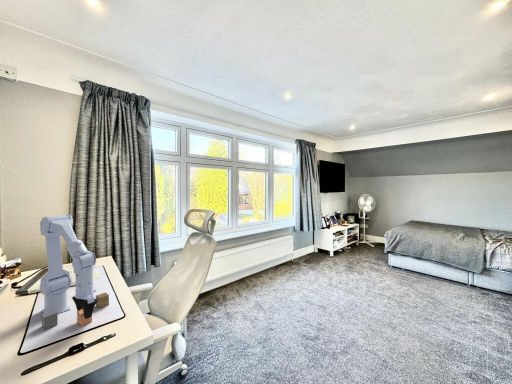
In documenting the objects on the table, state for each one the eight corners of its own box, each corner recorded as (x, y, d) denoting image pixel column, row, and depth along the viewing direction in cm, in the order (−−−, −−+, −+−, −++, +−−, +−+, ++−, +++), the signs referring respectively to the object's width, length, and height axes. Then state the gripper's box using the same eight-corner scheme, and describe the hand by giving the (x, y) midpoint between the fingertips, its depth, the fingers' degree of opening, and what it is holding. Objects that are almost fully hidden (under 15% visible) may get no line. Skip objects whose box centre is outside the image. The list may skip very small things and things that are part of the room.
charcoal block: (41, 326, 90) (41, 314, 89) (54, 321, 93) (54, 309, 93) (44, 329, 87) (44, 317, 87) (57, 324, 91) (57, 312, 91)
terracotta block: (76, 322, 92) (76, 311, 92) (88, 318, 95) (88, 306, 95) (80, 326, 90) (80, 314, 90) (92, 321, 93) (92, 309, 93)
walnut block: (95, 305, 105) (95, 295, 105) (105, 302, 109) (105, 292, 108) (99, 308, 103) (99, 298, 103) (108, 304, 106) (108, 294, 106)
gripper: (102, 283, 91) (102, 315, 92) (88, 275, 100) (89, 305, 100) (82, 289, 86) (82, 324, 86) (69, 281, 94) (69, 312, 94)
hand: (84, 314), depth 92 cm, fingers open, 7 cm apart
